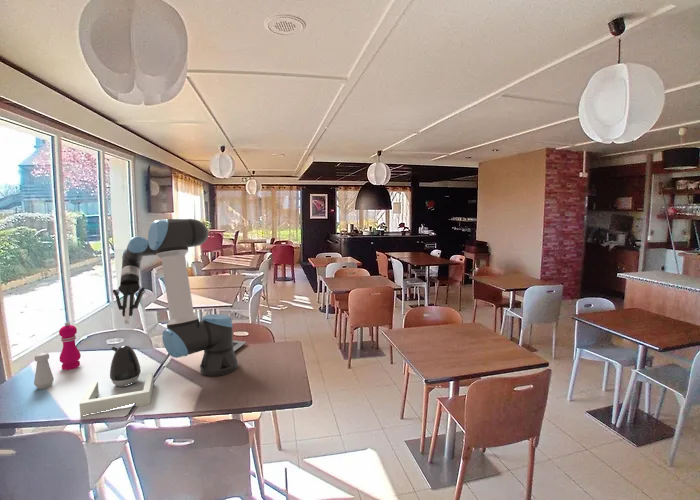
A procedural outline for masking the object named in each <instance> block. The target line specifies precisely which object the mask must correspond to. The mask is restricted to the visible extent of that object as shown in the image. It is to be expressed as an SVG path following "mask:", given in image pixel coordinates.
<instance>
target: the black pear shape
mask: <svg viewBox="0 0 700 500" xmlns="http://www.w3.org/2000/svg"><path fill="white" fill-rule="evenodd" d="M111 350H112V351H114V354H113V355H112V356H113V357H112V360H111V364H110V369H109V378H110V380H111V382H112V383H113V385H115V386H116V387H121V386H124V387H126V386H125V385H128V384H131V383H133V384H134V383H135V381H136V382H137V380H139V377H140V376H141V375H140V374H141V371H142V369H141V365H140V362H139V358H138V356H137V354H136V352H135V351H134V349H133V348H132V347H131V346H129V345H121V346H120V347H116V346H112V347H111ZM131 385H132V384H131ZM128 386H129V385H128Z"/></svg>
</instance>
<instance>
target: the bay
mask: <svg viewBox="0 0 700 500" xmlns="http://www.w3.org/2000/svg"><path fill="white" fill-rule="evenodd" d="M154 379H155V378H154V373H153V372H152V373H147V374H146V378H145V381H144V386H143V389H142V390H137V391H132V392H131V391H130V392H125V393H119V394H115V395H108V396H103V397H98V396H97V395H99V394H100V392H99V382H98V381H93V382H90V383H89V386H88V388H87V390H86V392H85V393H84V395H83V397H82V398H81V399H80V401H79V415H80V416H83V415H86V414H91V413H97V412H101V411H106V410H110V409H113V408H117V407H121V406H125V405H129V404H133V403H136V407H141V406H146V405H150V404H151V400H152V395H153V389H154V385H155V383H154ZM98 393H99V394H98ZM96 397H97V398H96ZM83 417H84V416H83Z"/></svg>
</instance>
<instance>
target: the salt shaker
mask: <svg viewBox="0 0 700 500" xmlns="http://www.w3.org/2000/svg"><path fill="white" fill-rule="evenodd" d="M49 359H50V354H49V352H41V353H37V354H36V355H34V361H35V362H36V368H35V374H34V380H33V381H34V383H33V384H34V386H35V388H37V390H44V389H48V388H50V387H51V386H53V383H54V375H53V373H52V368H51V365H50V363H49Z"/></svg>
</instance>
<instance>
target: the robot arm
mask: <svg viewBox="0 0 700 500" xmlns="http://www.w3.org/2000/svg"><path fill="white" fill-rule="evenodd" d="M208 238H209V229H208V227H207V225H205V224H204V222H202V221H201V220H197V219H195V218H184V219H183V218H168V219H167V218H164V219H156V220H153V221H152V222H151V224H150V226H149V228H148V234H147V238H145V237H143V236H140V235H135V236H133V237H131V238H130V240H128V241H129V242H128V244H127V246H126V249H124V251H123V253H122V256H121V258H122V261H121V271H120V272H121V273H120V281H119V282H120V283H119V286H118V288H116V289H112V294H113V295H114V297H115V300H116V304H117V308H118V310H119V311H121V310H122V313H121V315H122V317H124V321H123V322H124V324H125V325H127V324H130V318H131V317H132V316H134V309H138V308H139V306H140V302H141V300H142V297H143V295H144V294H145V293H146V289H145V287H141V286H140V270H141V263H142V262H141V261H142V260H143V257H147V256H157V257H159V258H160V260H161V264H162V265H161V267H162V273H163V278H164V279H163V280H164V286H165V292H166V293H165V294H166V299H167V305H168V306H167V307H168V312H169V313H168V314H169V318H170V319H169V320H168V322H167V323H166V328H165V329H164V330H163V331H162V338H161V340H162V343H163V347H164V348H165V350H166V353H167V354H168V355H169V356H170V357H172V358H176V359H178V358H182V357H187V356H188V355H192V354H195V353H199V352H202V351H203V356H202V359H201V362H200V366H199V367H200V368H199V371H200V373H201V375H203V376H207V377H219V376H224V375H229V374H231V373H233V372H235V371H236V370H237V369H238V368H239V361H238V358H237V355H236V353H235V352H234V350H233V341H234V336H233V335H234V333H233V331H234V330H233V328H234V325H233V319H232V317H231V316H229V315H228V314H227V315H226V314H218V313H214V314H213V313H212V314H205V315H203V316H202V318H201V319H202V320H201V321H200V320H199V317H198V316H197V315H196V314H194V313H195V312H194V307H193V299H192V295H191V294H192V293H191V287H190V280H189V272H188V267H187V260H186V255H187V253H188V252H189V248H193V247H198V246H201V245H203V244H205V243H206V242H207V240H208ZM137 292H138V294H137V295H136V293H137ZM120 293H121V294H122V295H123V298H122V303H121V299H120V295H119V294H120ZM135 295H136V299H135ZM128 297H129V305H128ZM128 306H129V307H128Z"/></svg>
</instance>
